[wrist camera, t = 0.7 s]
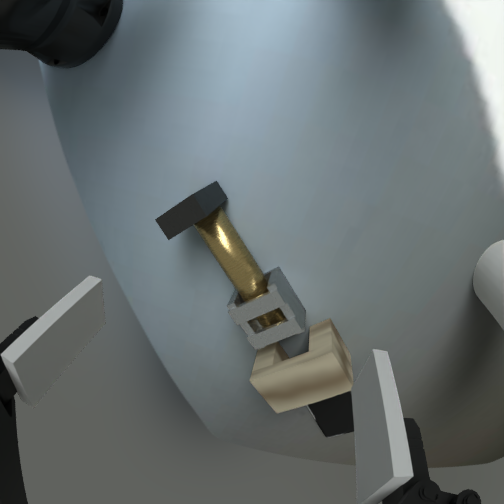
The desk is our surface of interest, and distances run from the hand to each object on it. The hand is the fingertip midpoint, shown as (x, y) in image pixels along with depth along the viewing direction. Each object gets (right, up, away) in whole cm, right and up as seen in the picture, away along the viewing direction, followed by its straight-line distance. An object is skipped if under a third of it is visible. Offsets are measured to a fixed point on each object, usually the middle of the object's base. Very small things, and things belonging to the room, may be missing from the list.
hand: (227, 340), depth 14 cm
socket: (+8, -10, +28) cm, 31 cm away
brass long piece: (0, +4, +24) cm, 25 cm away
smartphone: (+15, -21, +32) cm, 41 cm away
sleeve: (+3, -2, +26) cm, 26 cm away
